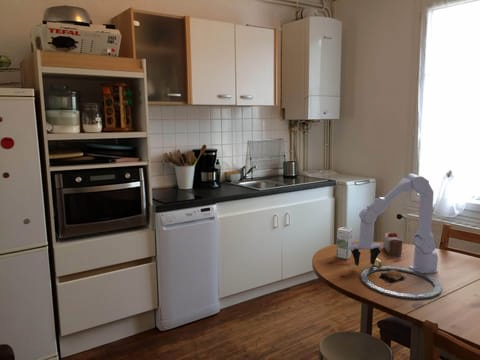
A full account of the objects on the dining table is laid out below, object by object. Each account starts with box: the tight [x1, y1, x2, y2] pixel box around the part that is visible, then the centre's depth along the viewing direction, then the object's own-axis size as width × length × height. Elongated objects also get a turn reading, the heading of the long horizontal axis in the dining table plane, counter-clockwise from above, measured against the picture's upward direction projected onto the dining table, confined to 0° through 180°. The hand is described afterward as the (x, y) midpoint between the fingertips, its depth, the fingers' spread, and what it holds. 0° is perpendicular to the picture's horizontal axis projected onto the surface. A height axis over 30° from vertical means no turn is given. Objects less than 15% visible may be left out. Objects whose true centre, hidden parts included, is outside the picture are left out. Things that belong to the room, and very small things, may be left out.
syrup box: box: [336, 226, 353, 260], centre depth 193 cm, size 6×6×14 cm
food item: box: [382, 232, 403, 257], centre depth 203 cm, size 14×8×10 cm, turn 174°
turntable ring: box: [360, 257, 443, 300], centre depth 167 cm, size 31×36×3 cm
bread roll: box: [378, 270, 407, 284], centre depth 170 cm, size 11×8×4 cm
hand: (364, 264), depth 179 cm, fingers open, 7 cm apart
